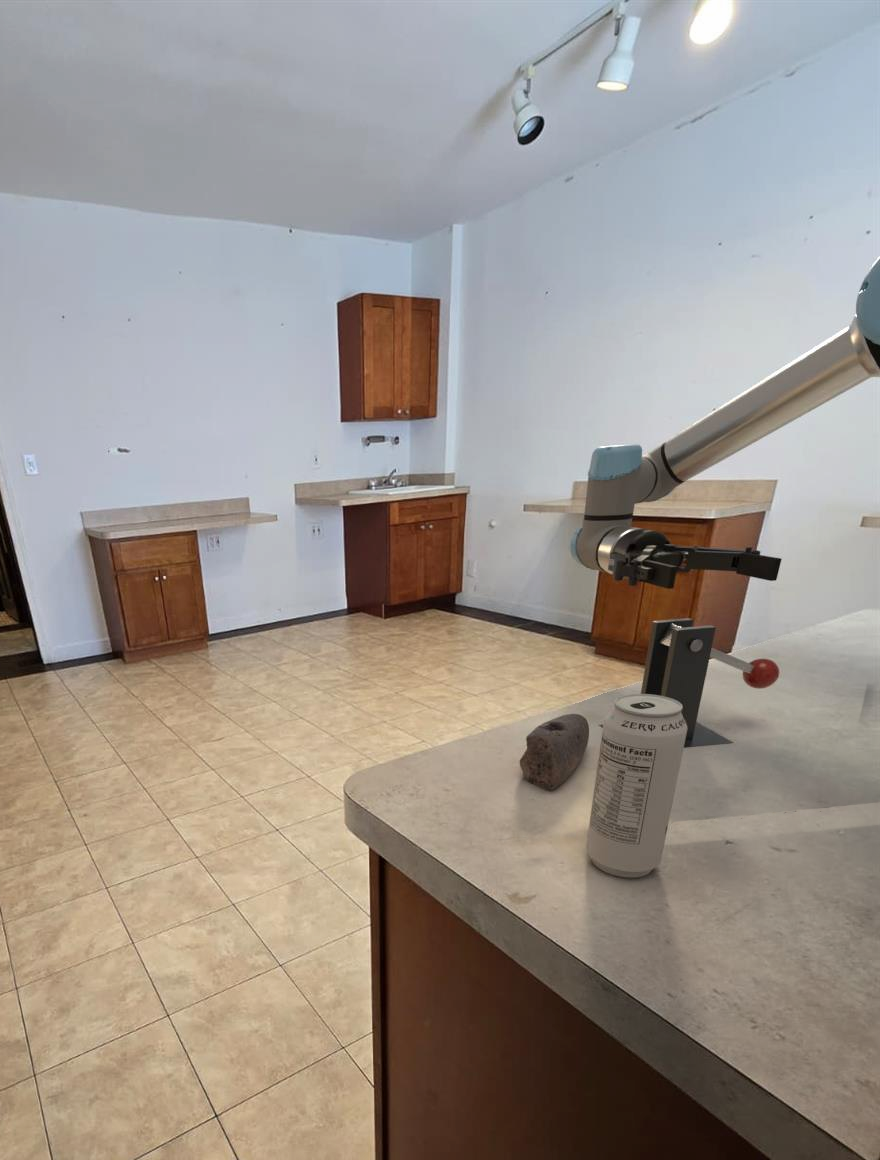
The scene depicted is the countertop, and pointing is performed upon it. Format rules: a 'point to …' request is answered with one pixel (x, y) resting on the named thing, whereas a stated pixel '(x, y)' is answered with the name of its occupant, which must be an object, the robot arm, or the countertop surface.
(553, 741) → the perforated stone tool
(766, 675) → the red knob lever
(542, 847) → the countertop surface
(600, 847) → the energy drink can
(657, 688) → the bracket
